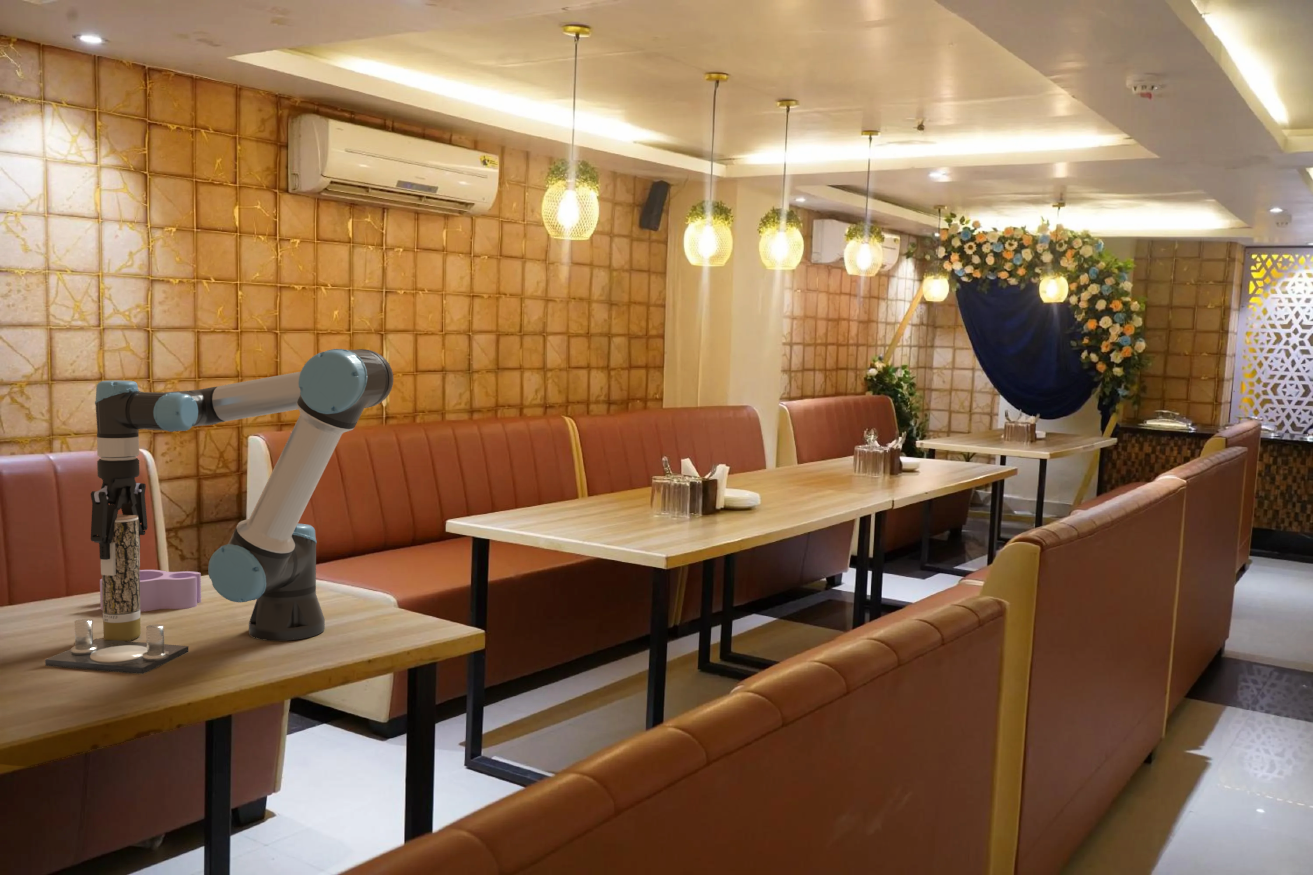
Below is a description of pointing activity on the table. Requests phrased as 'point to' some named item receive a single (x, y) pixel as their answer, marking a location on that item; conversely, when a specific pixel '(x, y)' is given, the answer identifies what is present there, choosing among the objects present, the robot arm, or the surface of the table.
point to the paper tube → (123, 583)
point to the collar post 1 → (83, 638)
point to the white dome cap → (118, 654)
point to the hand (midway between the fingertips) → (120, 570)
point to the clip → (167, 590)
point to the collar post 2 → (155, 643)
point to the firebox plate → (130, 666)
